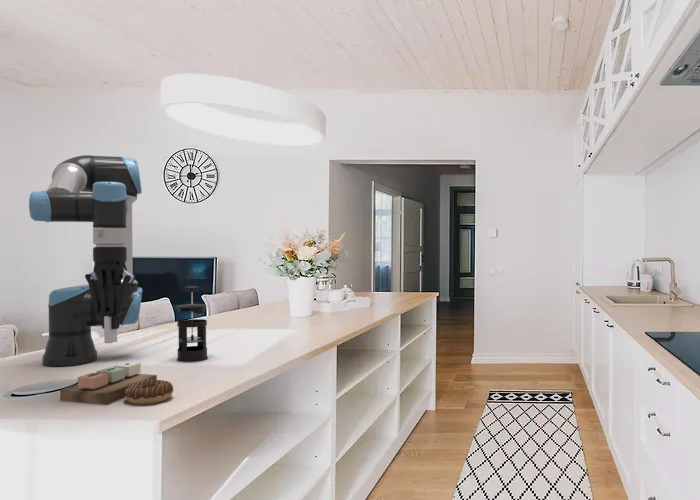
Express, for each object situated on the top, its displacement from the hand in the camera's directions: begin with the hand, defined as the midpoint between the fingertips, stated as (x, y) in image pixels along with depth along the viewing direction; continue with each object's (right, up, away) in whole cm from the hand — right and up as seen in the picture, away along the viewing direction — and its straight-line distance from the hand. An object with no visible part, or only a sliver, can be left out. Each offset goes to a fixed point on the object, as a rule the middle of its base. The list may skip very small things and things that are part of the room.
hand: (110, 342), depth 131 cm
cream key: (+2, -9, +5) cm, 11 cm away
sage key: (0, -9, 0) cm, 9 cm away
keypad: (0, -12, 0) cm, 12 cm away
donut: (+12, -13, -7) cm, 19 cm away
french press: (+9, -12, +39) cm, 41 cm away
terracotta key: (-1, -9, -6) cm, 11 cm away
